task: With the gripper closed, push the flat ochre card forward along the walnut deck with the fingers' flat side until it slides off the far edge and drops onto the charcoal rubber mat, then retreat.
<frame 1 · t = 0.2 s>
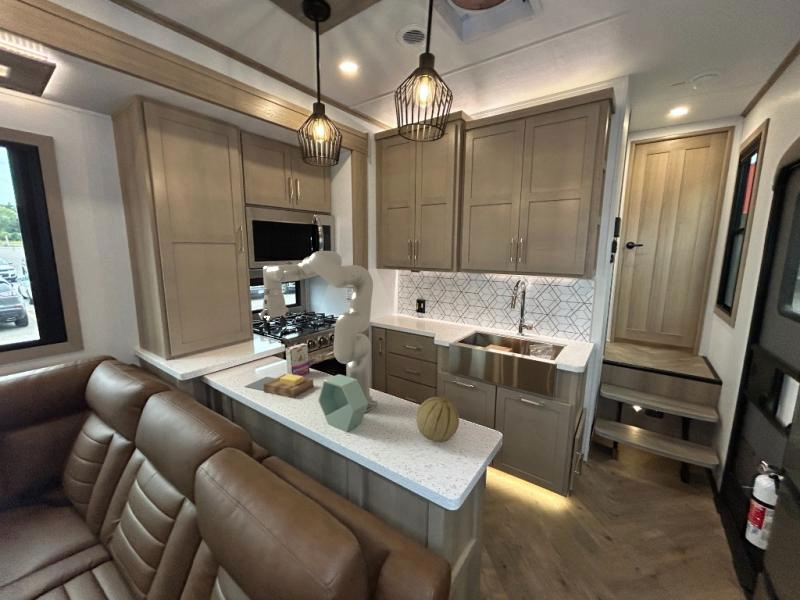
hand: (275, 328, 153), 31 cm above the counter, fingers open, 9 cm apart
deck: (289, 389, 158), on the counter
cantaloupe: (437, 439, 114), on the counter
mat: (266, 383, 165), on the counter
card: (291, 382, 157), point 4 cm above the counter, touching deck
planter: (343, 423, 126), on the counter
candy bar box: (298, 375, 177), on the counter
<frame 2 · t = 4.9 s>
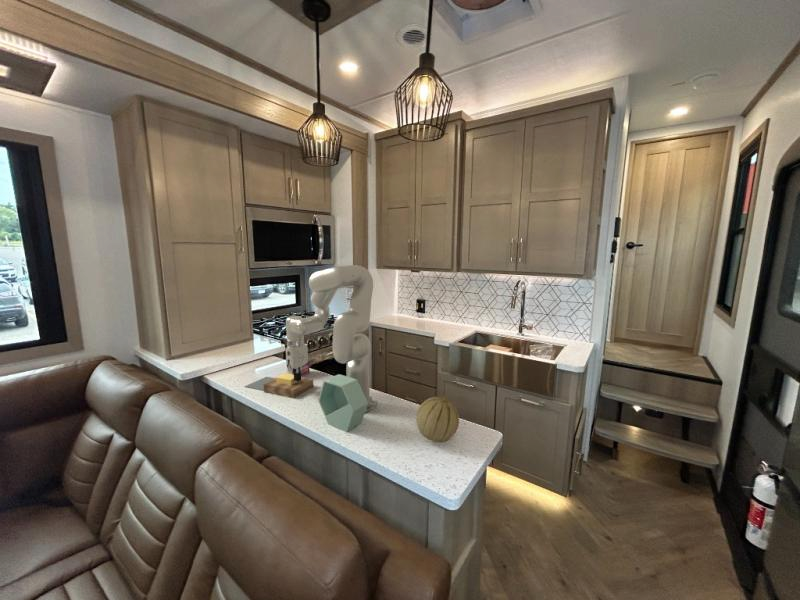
hand: (297, 380, 155), 6 cm above the counter, fingers closed
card: (287, 381, 158), point 4 cm above the counter, touching gripper
everything else where it was.
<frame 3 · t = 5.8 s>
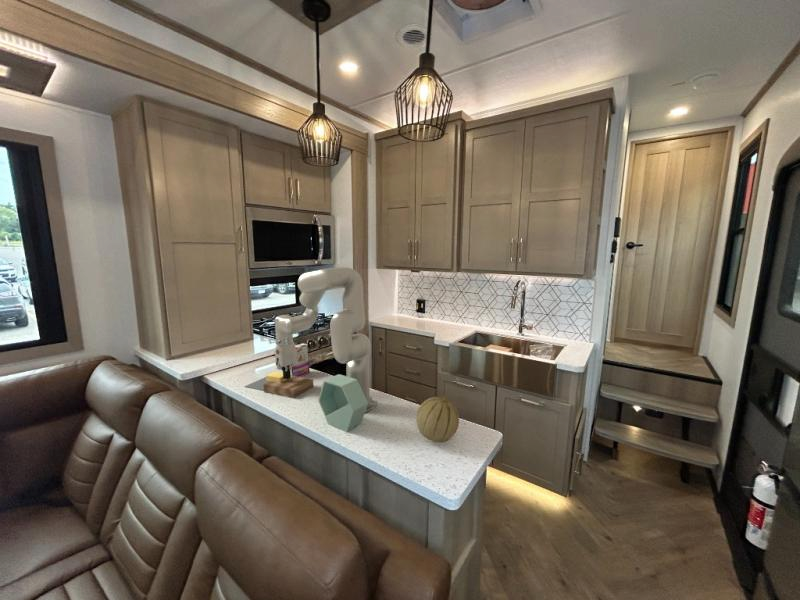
hand: (286, 378, 158), 6 cm above the counter, fingers closed
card: (277, 379, 160), point 4 cm above the counter, touching deck
everything else where it was.
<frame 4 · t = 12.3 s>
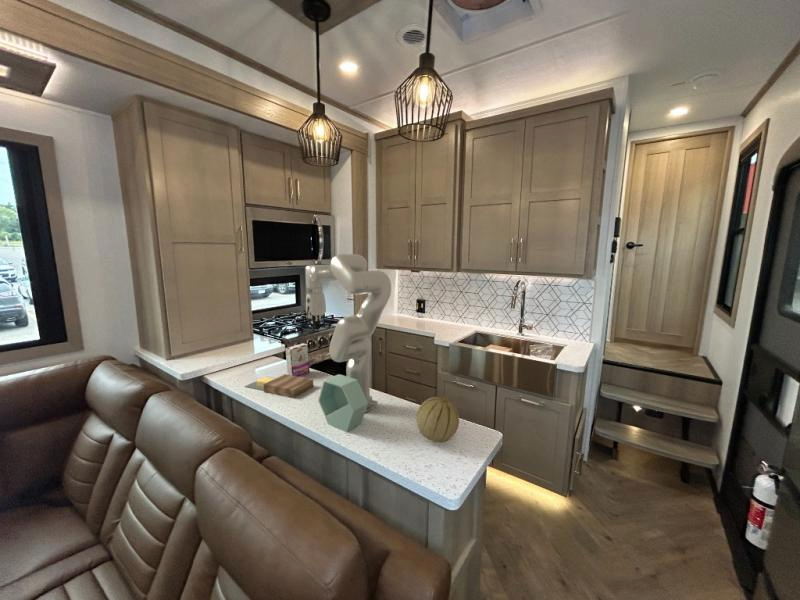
hand: (316, 328, 158), 29 cm above the counter, fingers closed
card: (268, 384, 163), resting on mat
everything else where it was.
at the end: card resting on mat; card inside the target area on the mat (2.7 cm from its centre), point 0.3 cm above the mat's base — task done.
